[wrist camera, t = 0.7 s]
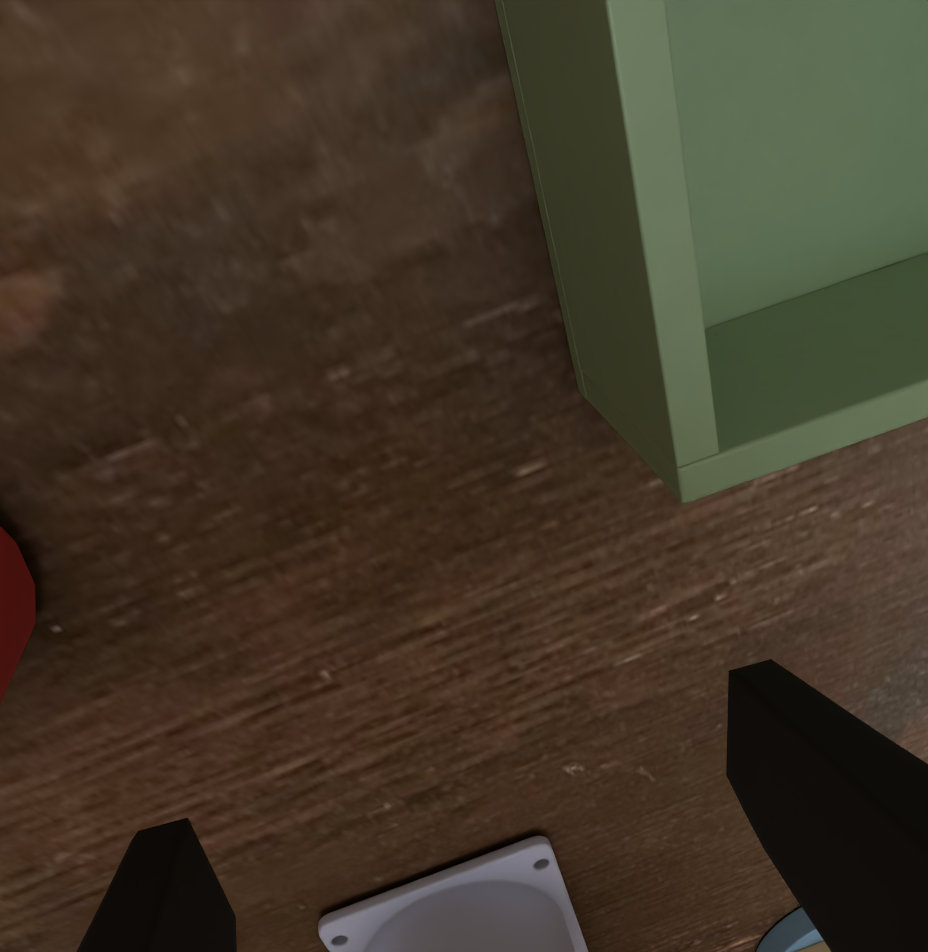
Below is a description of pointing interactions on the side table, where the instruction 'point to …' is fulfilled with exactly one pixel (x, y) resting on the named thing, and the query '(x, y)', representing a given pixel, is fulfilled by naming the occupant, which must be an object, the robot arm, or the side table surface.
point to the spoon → (791, 934)
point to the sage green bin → (733, 219)
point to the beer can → (14, 608)
